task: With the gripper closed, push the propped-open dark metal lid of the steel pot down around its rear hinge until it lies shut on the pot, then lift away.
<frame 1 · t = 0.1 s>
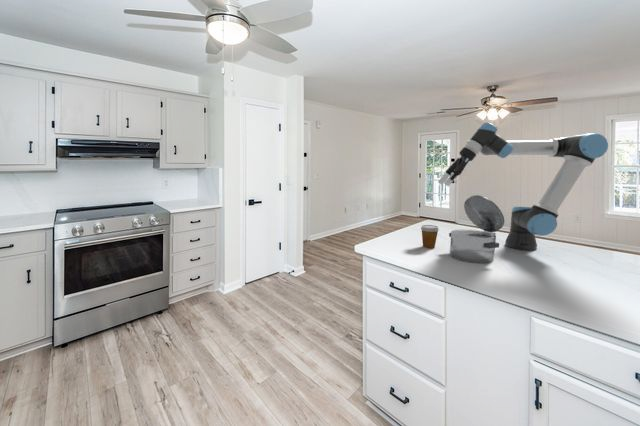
hand: (442, 184, 159), 36 cm above the table, tool tilted 35°, fingers open, 13 cm apart
pot lid: (484, 212, 151), point 22 cm above the table, hinge at 60.0°
disposable coffee cup: (428, 247, 170), on the table
cooker pot: (470, 256, 152), on the table
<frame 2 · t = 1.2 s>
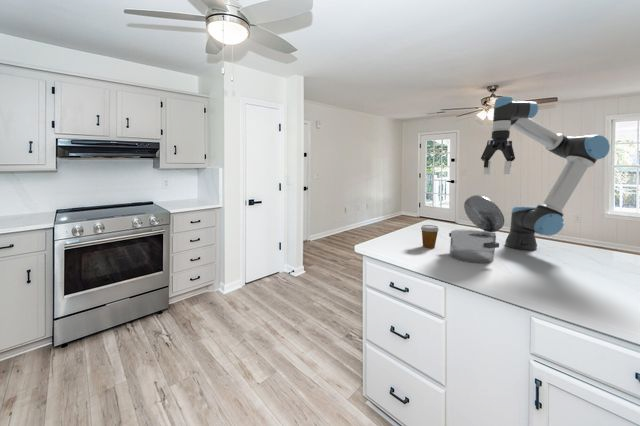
hand: (496, 174, 150), 41 cm above the table, tool pointing down, fingers open, 13 cm apart
nothing on the table moved.
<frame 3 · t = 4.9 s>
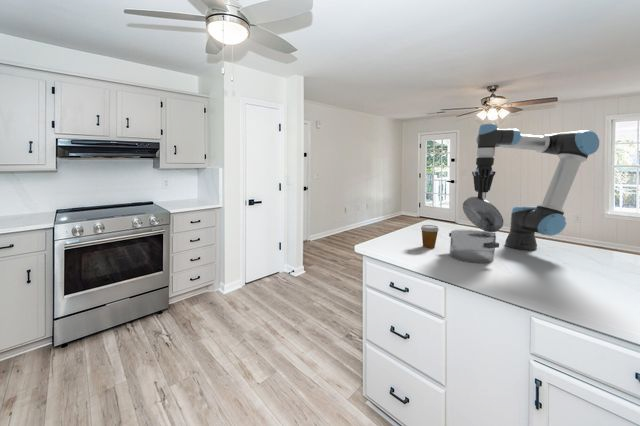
hand: (480, 205, 149), 26 cm above the table, tool pointing down, fingers closed
pot lid: (483, 213, 150), point 22 cm above the table, hinge at 55.6°, touching gripper
everything else where it was.
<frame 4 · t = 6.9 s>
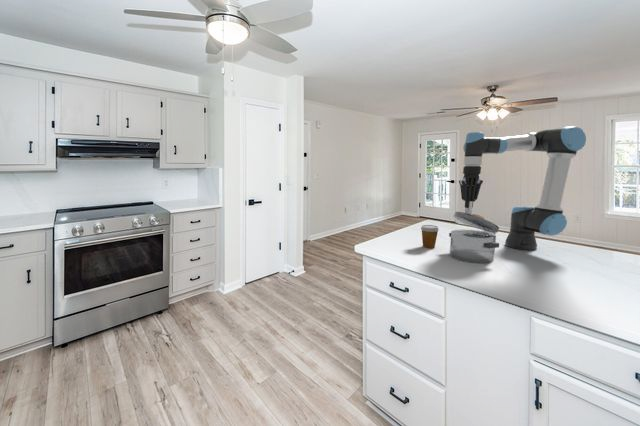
hand: (468, 214, 147), 22 cm above the table, tool pointing down, fingers closed
pot lid: (476, 220, 150), point 19 cm above the table, hinge at 26.2°, touching gripper
everything else where it was.
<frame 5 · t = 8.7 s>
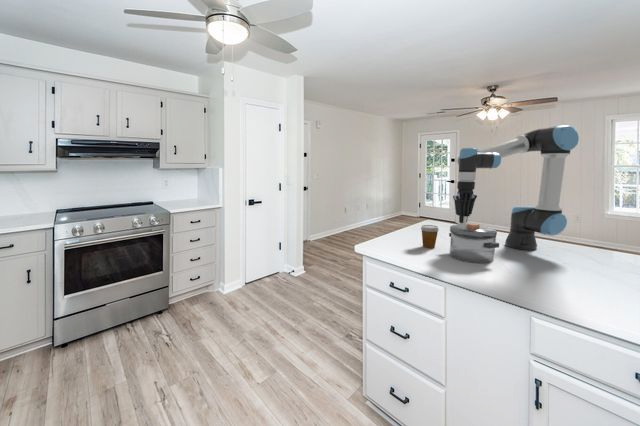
hand: (462, 229, 147), 15 cm above the table, tool pointing down, fingers closed
pot lid: (472, 228, 150), point 15 cm above the table, hinge at 1.3°, touching gripper
everything else where it was.
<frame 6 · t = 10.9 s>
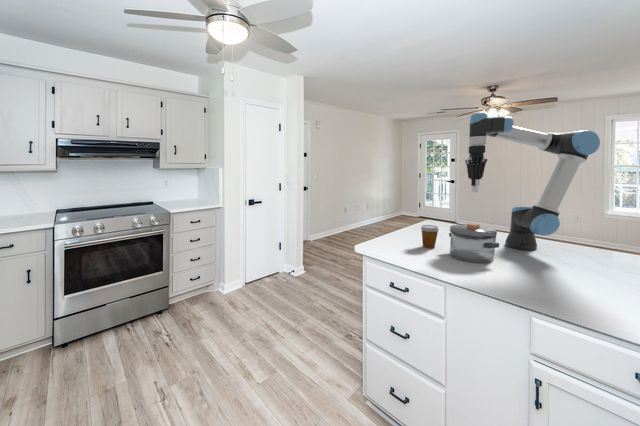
hand: (474, 192, 155), 32 cm above the table, tool pointing down, fingers closed
pot lid: (472, 228, 150), point 15 cm above the table, hinge at 1.2°
everything else where it was.
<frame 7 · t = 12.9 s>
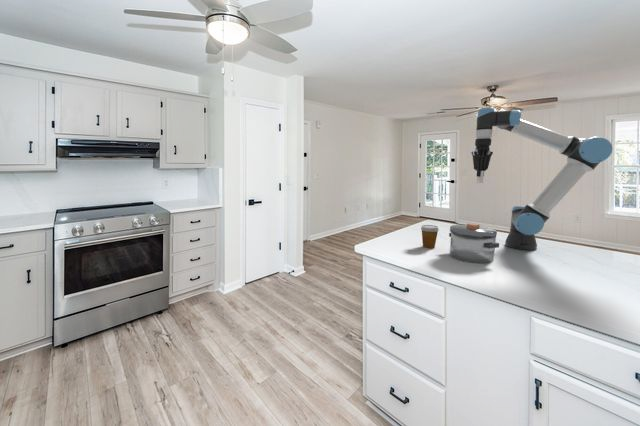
hand: (479, 182, 164), 36 cm above the table, tool pointing down, fingers closed
nothing on the table moved.
at the end: pot lid at +1° (first picture: +60°); disposable coffee cup moved 0.2 cm from its start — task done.
